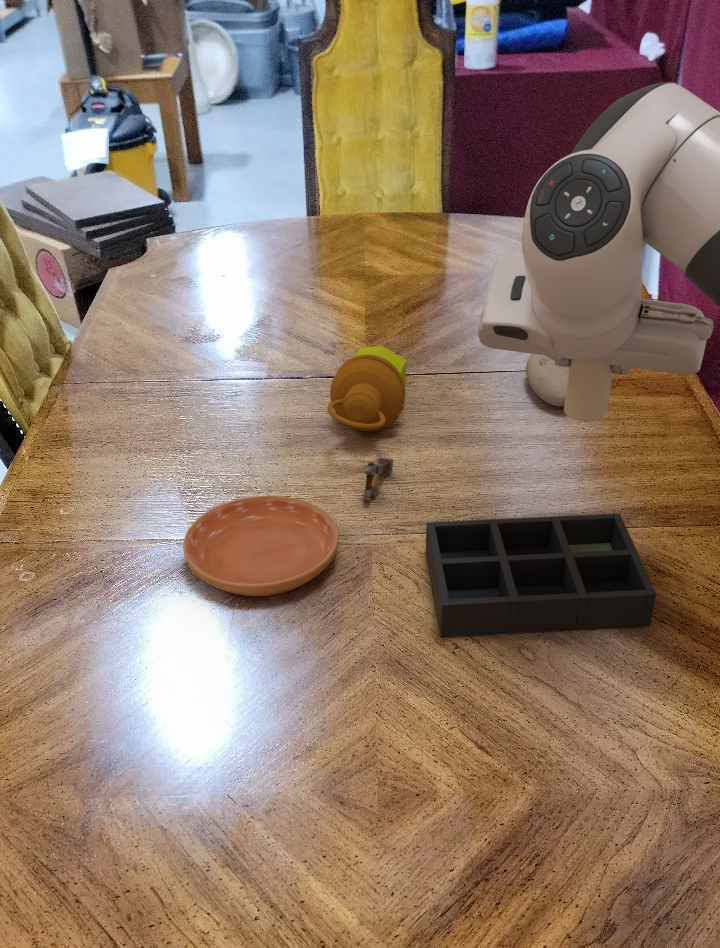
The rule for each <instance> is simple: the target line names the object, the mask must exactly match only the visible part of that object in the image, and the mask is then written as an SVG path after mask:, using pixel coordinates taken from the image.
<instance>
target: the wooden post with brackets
mask: <svg viewBox="0 0 720 948" xmlns="http://www.w3.org/2000/svg"><path fill="white" fill-rule="evenodd" d="M393 467H394V458H388V457H381V456H378V458H377V463H375V462H373V461H368V463H367V465H364V471H363V475H366V478H365V488H364V490H363V503H364V504H370V503H371V499H372V498H371V497H376V496H377V495H378V491H379V486H377V485H373V481H374V477H375V475H380V474H387V475H393Z"/></svg>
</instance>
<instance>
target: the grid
mask: <svg viewBox="0 0 720 948" xmlns="http://www.w3.org/2000/svg"><path fill="white" fill-rule="evenodd" d="M425 528H426V529H425V530H426V531H425V558H426V564H427V568H428V574H429V580H430V586H431V591H432V597H433V603H434V606H435V607H434V608H435V614H436V620H437V625H438V632H439V635H440V636H439V637H440V638H446V637H468V636H470V637H471V636H485V635H486V636H488V635H507V634H526V633H545V632H566V631H584V630H585V631H586V630H604V629H606V630H607V629H625V628H626V629H627V628H645V627H650V626H651V623H652V618H653V614H654V609H655V604H656V599H657V594H658V593H657V591H656V590H655V587H654V585H653V584H652V580H651V578H650V576H649V574H648V572H647V569H646V567H645V565H644V563H643V561H642V559H641V557H640V554H639V551H638V550H637V548H636V546H635V543H634V542H633V539H632V537H631V535H630V532H629V530H628V528H627V525H626V524H625V521H624V519H623V516H622V515H621V513H620V512H619V513H598V514H579V515H577V514H576V515H559V516H558V515H555V516H554V515H553V516H537V517H535V516H534V517H519V518H518V517H516V518H515V517H514V518H497V519H496V518H493V519H492V518H491V519H472V520H471V519H469V520H451V521H450V520H449V521H431V522H430V521H429V522H426V525H425Z"/></svg>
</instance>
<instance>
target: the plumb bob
mask: <svg viewBox="0 0 720 948" xmlns="http://www.w3.org/2000/svg"><path fill="white" fill-rule="evenodd" d="M406 386H407V360H406V358H404V357H402V356H400V355H398V354H396V353H395V352H394V351H392V350H390V349H388V348H387V347H386V346H384V345H379V346H367V347H365V346H364V347H360V348H359V349H358V350H357V352H356V354H355V355H354V356H352V357H350V358H349V359H348V360H346V361H345V362H343V363H342V365H341V366H339V368H338V369H337V371H336V373H335V375H334V376H333V379H332V380H331V384H330V390H329V391H330V392H329V397H330V402H329V403H328V405H327V413H328V414H329V416H330V417H331V418H332V419H334V421H336V422H338V423H339V424H342V425H345V426H347V427H350V428H352V429H355V430H356V431H357V430H358V431H361V432H375V431H380V430H382V429H385V428H386V427H388V426H390V425H391V424H392V423H393V422H395V420H396V419H397V418H398V416H399V415H400V413H401V411H402V408H403V405H404V403H405V399H406Z"/></svg>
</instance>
